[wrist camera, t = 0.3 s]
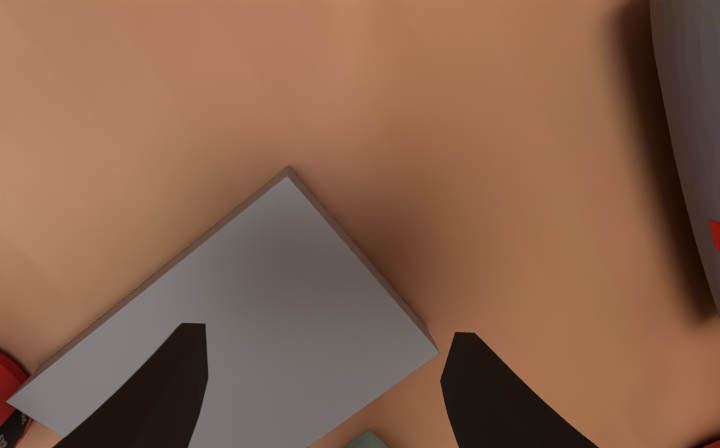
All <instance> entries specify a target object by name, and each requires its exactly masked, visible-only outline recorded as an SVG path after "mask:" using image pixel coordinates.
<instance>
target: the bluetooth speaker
mask: <svg viewBox="0 0 720 448" xmlns="http://www.w3.org/2000/svg"><path fill="white" fill-rule="evenodd" d="M650 18H651V27H652V39H653V47H654V55H655V61H656V66H657V71H658V76H659V81H660V86H661V91H662V96H663V101H664V107H665V112H666V117H667V122H668V127H669V132H670V137H671V144H672V149H673V153H674V158H675V162H676V166H677V170H678V174H679V178H680V183H681V187H682V191H683V195H684V199H685V203H686V207H687V211H688V214H689V218H690V222H691V226H692V230H693V234H694V237H695V241H696V244H697V247H698V251H699V254H700V258H701V261H702V264H703V268H704V271H705V274H706V277H707V280H708V283H709V287H710V290H711V293H712V296H713V299H714V302H715V305H716V308H717V311H718V314H719V317H720V0H650Z"/></svg>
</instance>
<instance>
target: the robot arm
mask: <svg viewBox="0 0 720 448" xmlns="http://www.w3.org/2000/svg"><path fill="white" fill-rule="evenodd" d="M208 378H209V375H208V357H207V339H206V323H181V324H180V325H179V326H178V327H177V328H176V329H175V330H174V331H173V332H172V333H171V335H170V336H169V337H168V338H167V339H166V340H165V341H164V342H163V343H162V345H161V346H160V347H159V348H158V349H157V350H156V351H155V352H154V353H153V354H152V355H151V356H150V358H149V359H148V360H147V361H146V362H145V363H144V364H143V365H142V366H141V367H140V368H139V369H138V370H137V371H136V372H135V373H134V374H133V375H132V376H131V377H130V378H129V379H128V380H127V381H126V382H125V383H124V384H123V385H122V386H121V387H120V388H119V389H118V390H117V391H116V392H115V393H114V394H113V395H112V396H110V397H109V398H108V399H107V400H106V401H105V402H104V403H103V404H102V405H101V406H100V407H99V408H98V409H96V410H95V411H94V412H93V413H92V414H91V415H90V416H89V417H88V418H87V419H85V420H84V421H83V422H82V423H81V424H80V425H79V426H77V427H76V428H75V429H74V430H73V431H72V432H70V433H69V434H68V435H67V436H66V437H64V438H63V439H62V440H61V441H59V442H58V443H57V444H56V445H55V446H53V447H52V448H188V446H189V443H190V441H191V438H192V435H193V432H194V429H195V427H196V424H197V421H198V418H199V415H200V411H201V407H202V403H203V399H204V395H205V391H206V386H207V382H208ZM440 382H441V387H442V392H443V397H444V401H445V405H446V410H447V414H448V417H449V420H450V423H451V426H452V429H453V432H454V435H455V438H456V441H457V444H458V446H459V448H599V447H597V446H596V445H595V444H594V443H592V442H591V441H590V440H589V439H587V438H586V437H585V436H583V435H582V434H581V433H580V432H578V431H577V430H576V429H575V428H574V427H572V426H571V425H570V424H569V423H568V422H567V421H565V420H564V419H563V418H562V417H561V416H560V415H559V414H557V413H556V412H555V411H554V410H553V409H552V408H551V407H550V406H549V405H547V404H546V403H545V402H544V401H543V400H542V399H541V398H540V397H539V396H538V395H537V394H536V393H534V392H533V391H532V390H531V389H530V388H529V387H528V386H527V385H526V384H525V383H524V382H523V381H522V380H521V379H520V378H519V377H518V376H517V375H516V374H515V373H514V372H513V371H512V370H511V369H510V368H509V367H508V366H507V365H506V364H505V363H504V362H503V361H502V360H501V359H500V358H499V357H498V356H497V355H496V354H495V353H494V352H493V351H492V350H491V349H490V348H489V347H488V346H487V345H486V344H485V343H484V342H483V341H482V340H481V339H480V338H479V337H478V336H477V335H476V334H475V333H465V332H455V335H454V338H453V341H452V345H451V348H450V351H449V354H448V357H447V361H446V364H445V367H444V370H443V374H442V377H441V380H440Z"/></svg>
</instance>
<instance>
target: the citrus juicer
mask: <svg viewBox="0 0 720 448" xmlns="http://www.w3.org/2000/svg"><path fill="white" fill-rule="evenodd" d="M703 448H720V439H719V440H717V441H716V442H714V443H712V444H709V445H707V446H705V447H703Z"/></svg>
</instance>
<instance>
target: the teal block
mask: <svg viewBox="0 0 720 448" xmlns="http://www.w3.org/2000/svg"><path fill="white" fill-rule="evenodd" d="M344 448H389V447H388V446H387V445H386V444H385V443H384V442H383V441H381V440H380V439H379V438H378V437H377V436H376V435H375V434H374V433H373V432H372V431H371V430H370V429H369V430H368V431H366V432H365V433H364V434H362V435H361V436H359V437H358V438H357V439H355V440H354V441H352V442H351V443H350V444H348V445H347V446H345V447H344Z"/></svg>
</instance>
